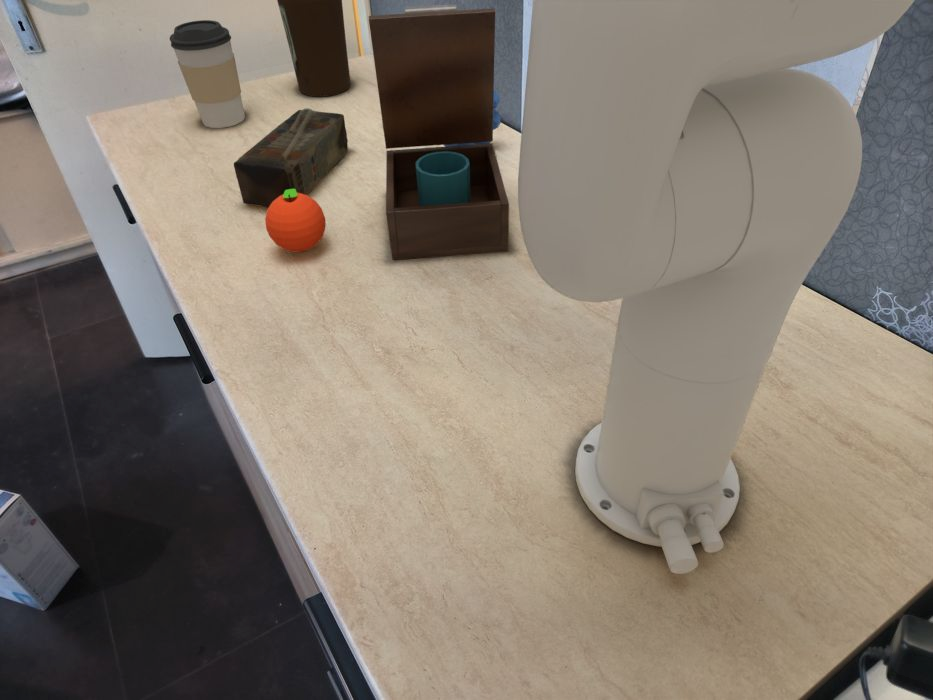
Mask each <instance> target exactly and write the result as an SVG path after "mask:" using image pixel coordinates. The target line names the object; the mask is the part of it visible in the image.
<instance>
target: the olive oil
mask: <svg viewBox="0 0 933 700" xmlns="http://www.w3.org/2000/svg"><path fill="white" fill-rule="evenodd" d="M276 1H277V5H278V9H279V13H280V17H281V20H282V25H283V28H284V33H285V37H286V40H287V44H288V48H289V53H290V56H291V60H292V65H293V69H294V73H295V77H296V82H297V86H298V90H299V92H300V93H301V94H303V95H306V96H311V97H329V96H335V95H338V94H342V93H344V92H345V91H347V90H349V88H351V73H350V65H349V58H348V49H347V48H348V47H347V38H346V29H345V28H346V27H345V19H344V7H343V0H276Z"/></svg>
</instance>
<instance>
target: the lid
mask: <svg viewBox="0 0 933 700" xmlns="http://www.w3.org/2000/svg"><path fill="white" fill-rule="evenodd" d="M403 11H404V13H392V14H377V15H375V14H374V15H369V16H368V25H369V32H370V39H371V47H372V55H373V63H374V68H375V69H374V70H375V76H376V83H377V91H378V99H379V107H380V114H381V122H382V129H383V135H384V136H383V137H384V143H385V149H386V150H387V149H401V148H402V149H403V148H404V149H405V148H417V147H431V146H433V147H434V146H444V145H447V144H461V143H476V142H490V141H491V142H493V141H494V130H493V110H494V109H493V104H494V90H495V57H496V56H495V53H496V52H495V51H496V47H495V46H496V9H495V8H494V7H493V8H491V7H490V8H477V9H476V8H475V9H461V10H460V9H459V10H458V6H457V4H456V3H454V4H437V5H420V6H405V7H404V9H403ZM491 142H490V143H491Z"/></svg>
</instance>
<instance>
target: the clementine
mask: <svg viewBox="0 0 933 700" xmlns="http://www.w3.org/2000/svg"><path fill="white" fill-rule="evenodd" d="M264 219H265V229H266V231H267V234H268V236H269V238H270V239H271V240H272V241H273V242H274V243H275V244H276V246H277V247H280V248H281V249H283V250H284V251H288V252H294V253H301V252H305V251H309V250H311V249H313V248H314V247H316V246H317V245H318V244H319V243H320V241H321V239H322V238H323V237H324V235H325V231H326V227H327V226H326V217H325V213H324V210H323V208H322V207H321V206H320V204H319V203H318V202H317V201H316V200H315V199H314V198H312V197H311V196H309V195H308V194H307V195H304V194H301V193H297V192H296V189H288V190H285V192H284V194H283V195H281V196H279V197H278V198H277V199H275V200H274V201H273V202H272V203H271V204H270V206H269V207H267V210H266V214H265V218H264Z"/></svg>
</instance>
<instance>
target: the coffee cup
mask: <svg viewBox="0 0 933 700" xmlns="http://www.w3.org/2000/svg"><path fill="white" fill-rule="evenodd" d="M231 40H232V35H231V34H230V31H229V29H228V28H227V27H224V26H222V24H221V23H220V22H219V21H217V20H211V19H210V20H209V19H207V20H206V19H203V20H193V21H188V22H184V23H181V24H178V25H177V26H175V27H174V29H173V33H172V34H171V35H170V36H169V41H170V47H171V48H173V51H174V53H175V56H176V58H177V64H178V66H179V67H178V68H179V69H180V72H181V75H182V76H183V77H182V78H183V79H184V82H185V84H186V86H187V89H188V92H189V94H190V97H191V99H192V101H193V102H194V104H195V106H196V109H197V112H198V114H199V117H200V119H201V122H202V125H203V126H204V127H207V128H211V129H222V128H223V129H224V128H229V127H234V126H236V125H239V124H240V123H242V122H243V121H244V120H245V119H246V115H245V110H244V109H245V108H244V105H243V100H242V89H241V83H240V78H239V74H238V68H237V62H236V58H235V57H236V56H235V53H234V52H233V48H232V47H233V46H232V42H231Z"/></svg>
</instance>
